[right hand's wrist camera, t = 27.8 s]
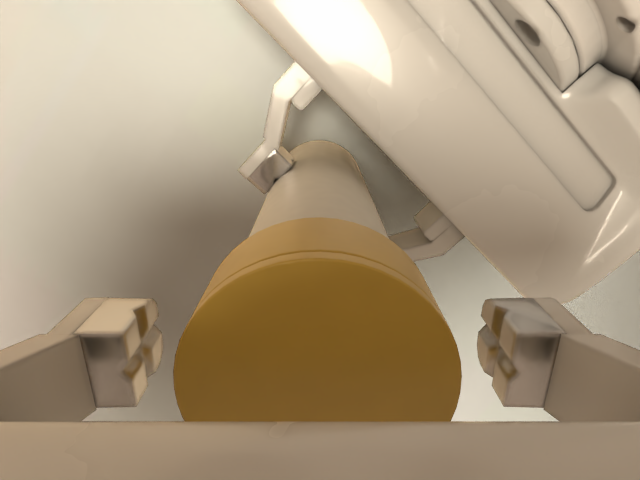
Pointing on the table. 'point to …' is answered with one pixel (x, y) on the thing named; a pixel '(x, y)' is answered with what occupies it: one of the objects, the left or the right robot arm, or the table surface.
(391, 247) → the lid
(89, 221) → the table surface
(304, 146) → the jar
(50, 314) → the table surface
